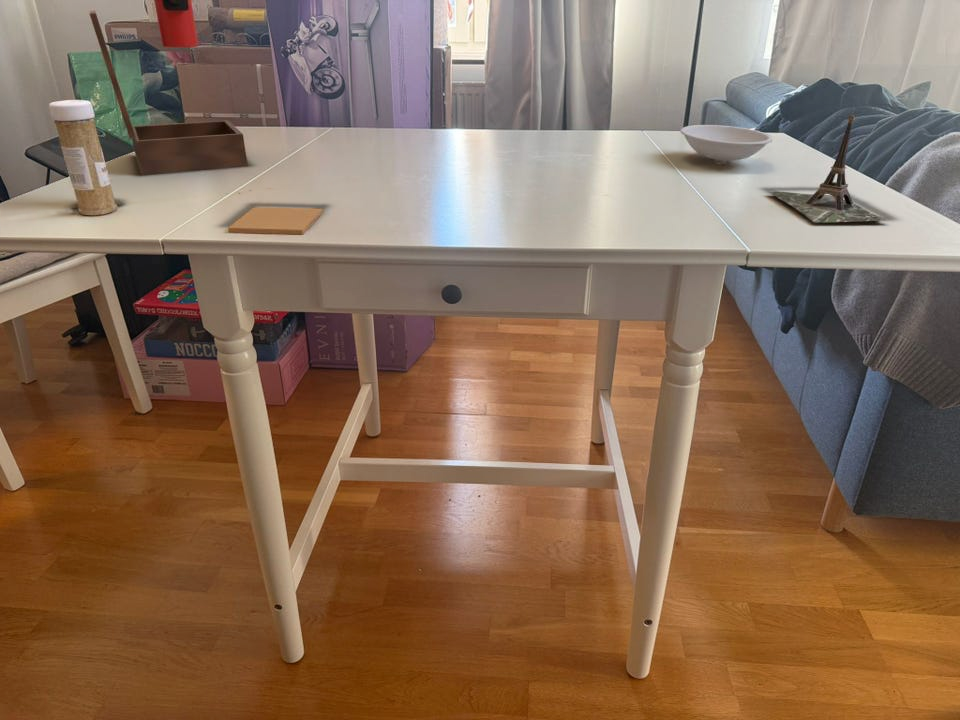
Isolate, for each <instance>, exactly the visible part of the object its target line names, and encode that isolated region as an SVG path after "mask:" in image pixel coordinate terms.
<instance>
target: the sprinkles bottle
mask: <svg viewBox="0 0 960 720" xmlns="http://www.w3.org/2000/svg"><path fill="white" fill-rule="evenodd" d="M48 107H49V112H50V115H51V119H52V120H54V121H53V123H54V124H55V127H56V131H57V134H58V138H59V142H60V148H61V152H62V156H63V158H64V162H65V165H66V169H67V173H68V175H69V180H70V184H71V187H72V189H73V191H74V195H75V199H76V202H77V206H78V209H77V210H78V213H79V214H81V215H84V216H103V215H107V214H111V213H113V212H115V211H116V210H117V209H118V204H117V202H116V200H115V197H114V192H113V188H112V185H111V179H110V175H109V172H108V168H107V164H106V160H105V157H104V156H105V155H104V153H103V148H102V146H101V143H100V139H99V134H98V130H97V126H96V124H95V116H96V115H95V111H94V107H93V104H92V102H91V101H90V100H87V99H86V100H85V99H66V100H57V101H52V102H50V103H49V104H48Z"/></svg>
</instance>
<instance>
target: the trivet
mask: <svg viewBox="0 0 960 720" xmlns="http://www.w3.org/2000/svg"><path fill="white" fill-rule="evenodd" d="M322 214H324V213H323V209H322V208H307V207H305V208H301V207H265V206H264V207H263V206H253V207H252V208H251V209H250V210H249V211H247V212H246V213H245V214H244V215H242V216H241V217H240V218H239V219H237V220H236V221H235V222H233V223H232V224H231V225H230V226H228V227H227V229H228V233H233V234H234V233H235V234H236V233H238V234H239V233H240V234H275V235H304V234H305V233H306V232H307V231H308V230H309V229H310V228H311V226H312V225H313V224H314V223H315V222H316V221H317V220H318V219H319V217H321V216H322Z"/></svg>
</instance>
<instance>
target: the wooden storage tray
mask: <svg viewBox="0 0 960 720" xmlns="http://www.w3.org/2000/svg"><path fill="white" fill-rule="evenodd" d="M132 128H133V131H134V134H135V138H131V141H132V145H133V146H132V147H133V150H134V155H135V158H136V161H137V166H138V170H139V173H140V176H153V175H165V174H177V173H187V172H198V171H200V172H201V171H209V170H221V169H232V168H244V167H245V168H247V167H248V166H249V165H248V157H247V151H246V144H245V139H244V134H243V132H241V131H240V130H239V129H238V128H237V127H236V126H235V125H234V124H233V123H232V122H230V121H229V119H225V120H224V119H223V120H207V121H192V122H177V123H175V122H174V123H159V124H142V125H132Z"/></svg>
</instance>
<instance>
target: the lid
mask: <svg viewBox="0 0 960 720" xmlns="http://www.w3.org/2000/svg"><path fill="white" fill-rule="evenodd" d="M88 13H89V17H90V20H91V23H92V26H93V30H94V32H95V36H96V39H97V42H98V45H99V47H100V52H101V54H102V57H103V60H104V63H105V67H106V69H107V73H108V76H109V79H110V82H111V86H112V88H113V92H114V94H115V97H116V100H117V103H118V107H119V109H120V114H121V117H122V119H123V122H124V125H125V129H126V131H127V134H128V137H129V139H131V140H132V138H135V134H134V131H133V128H132V126H133V125H132V121H131V119H130V116H129V112H128V109H127V106H126V103H125V100H124V97H123V94H122V90H121V86H120V84H119V81H118V78H117V75H116V72H115V68H114V65H113V62H112V59H111V56H110V52H109V49H108V47H107V42H106V40H105V36H104V34H103V30H102V28H101V27H102V26H101V25H100V22H99V21H100V20H99V18H98V15H97V12H96V10H89V12H88Z"/></svg>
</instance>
